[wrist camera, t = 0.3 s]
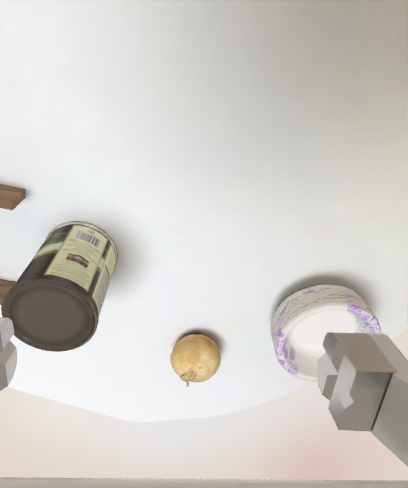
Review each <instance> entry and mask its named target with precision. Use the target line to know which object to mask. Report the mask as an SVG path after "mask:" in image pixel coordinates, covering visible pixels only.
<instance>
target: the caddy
mask: <svg viewBox="0 0 408 488" xmlns="http://www.w3.org/2000/svg"><path fill="white" fill-rule="evenodd" d="M24 198H25V189H21V188H16V187H11V186H6V185H1V184H0V208H4V209H9V210H13V209H14V208H15V207H16V206H17V205H18V204H19V203H20V202H21V201H22V200H23V199H24ZM15 284H16V282H13V281H7V280H1V279H0V305H2V302H3V299H4V297H5V296H6V294H7V293H8V291H9V290H10V289H11V288H12V287H13V286H14V285H15Z"/></svg>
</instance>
